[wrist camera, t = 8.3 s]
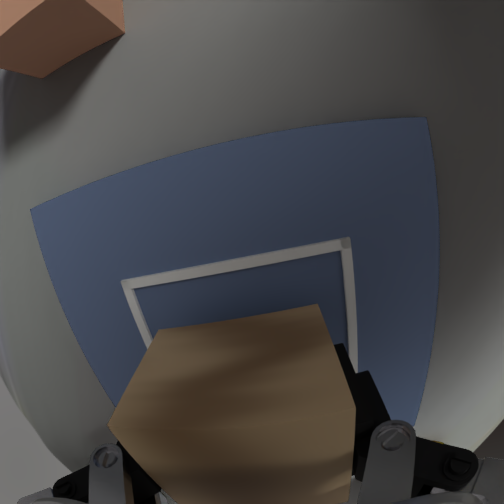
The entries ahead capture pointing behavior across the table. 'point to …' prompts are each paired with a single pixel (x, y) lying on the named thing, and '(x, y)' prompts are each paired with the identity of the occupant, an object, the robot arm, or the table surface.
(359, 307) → the board
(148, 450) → the oak block
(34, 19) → the terracotta cube
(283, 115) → the table surface
